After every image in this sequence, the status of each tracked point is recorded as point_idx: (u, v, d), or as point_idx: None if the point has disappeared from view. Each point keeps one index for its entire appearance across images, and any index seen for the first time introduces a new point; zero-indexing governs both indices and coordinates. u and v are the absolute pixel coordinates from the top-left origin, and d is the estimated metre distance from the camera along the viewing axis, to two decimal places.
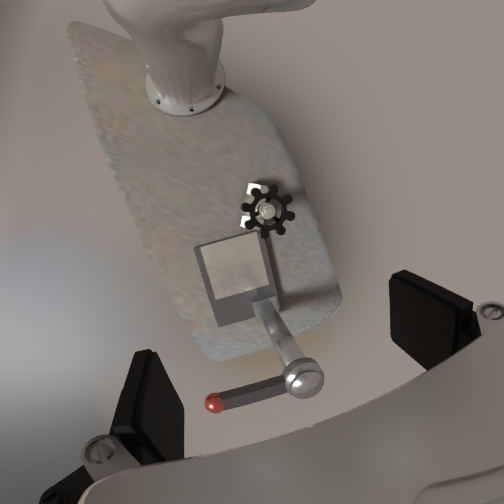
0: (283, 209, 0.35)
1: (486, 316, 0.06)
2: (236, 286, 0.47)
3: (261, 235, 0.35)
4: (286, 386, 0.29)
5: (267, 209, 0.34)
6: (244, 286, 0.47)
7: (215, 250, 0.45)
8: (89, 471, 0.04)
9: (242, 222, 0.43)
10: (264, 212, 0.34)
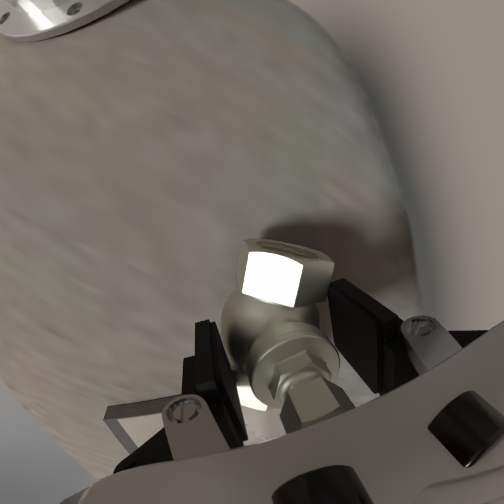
0: None
1: (414, 333, 0.07)
2: None
3: None
4: None
5: None
6: None
7: (160, 428, 0.13)
8: (177, 430, 0.06)
9: None
10: None
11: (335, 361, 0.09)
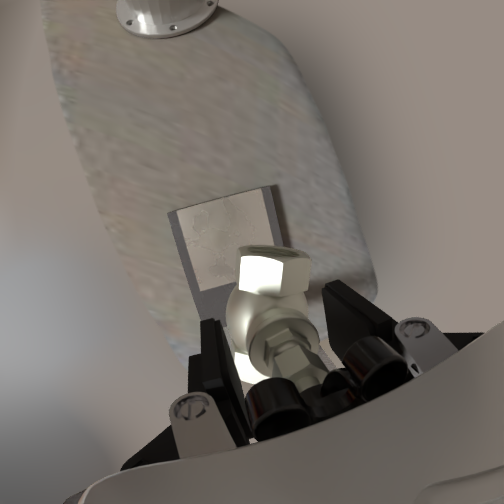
0: None
1: (408, 335, 0.07)
2: (231, 271, 0.31)
3: None
4: None
5: None
6: None
7: (199, 216, 0.30)
8: (185, 427, 0.06)
9: (238, 369, 0.14)
10: None
11: (315, 336, 0.11)
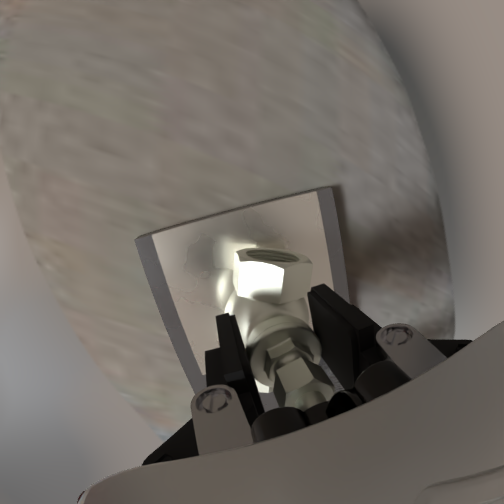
0: None
1: (391, 342, 0.07)
2: None
3: None
4: None
5: None
6: None
7: (197, 245, 0.15)
8: (209, 420, 0.06)
9: None
10: None
11: (317, 345, 0.11)
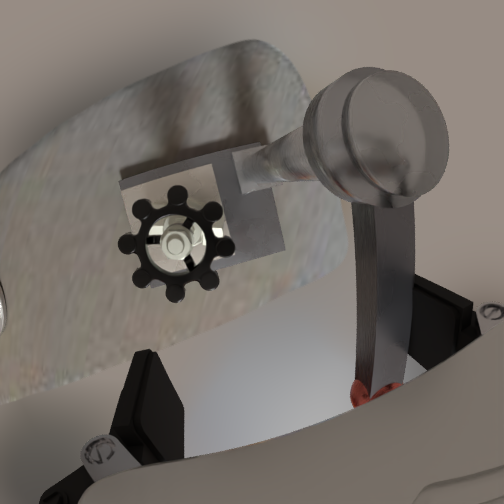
0: (165, 214, 0.15)
1: (486, 316, 0.06)
2: None
3: (228, 254, 0.16)
4: (391, 205, 0.08)
5: (170, 252, 0.15)
6: None
7: (152, 255, 0.27)
8: (89, 471, 0.04)
9: None
10: (178, 254, 0.16)
11: None
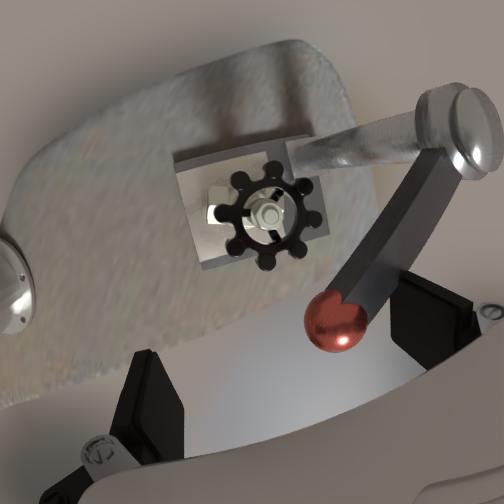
0: (262, 186, 0.17)
1: (486, 316, 0.06)
2: None
3: (316, 225, 0.18)
4: (452, 159, 0.09)
5: (266, 221, 0.17)
6: None
7: (206, 238, 0.29)
8: (89, 471, 0.04)
9: None
10: (273, 225, 0.17)
11: None
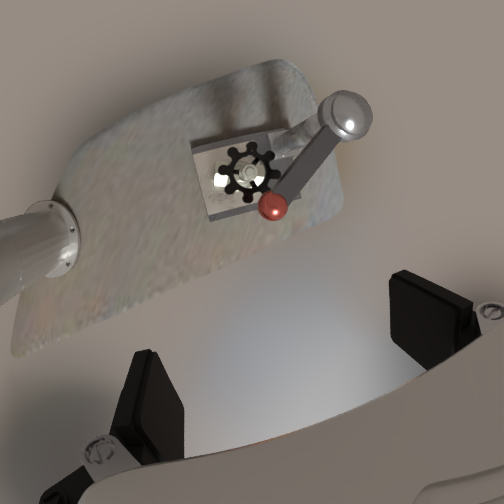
0: (245, 155, 0.29)
1: (486, 316, 0.06)
2: None
3: (277, 177, 0.30)
4: (333, 129, 0.21)
5: (247, 174, 0.29)
6: None
7: (212, 198, 0.41)
8: (89, 471, 0.04)
9: None
10: (251, 177, 0.30)
11: (238, 164, 0.35)
